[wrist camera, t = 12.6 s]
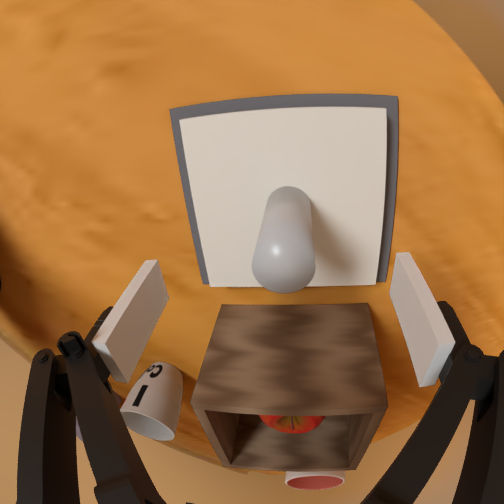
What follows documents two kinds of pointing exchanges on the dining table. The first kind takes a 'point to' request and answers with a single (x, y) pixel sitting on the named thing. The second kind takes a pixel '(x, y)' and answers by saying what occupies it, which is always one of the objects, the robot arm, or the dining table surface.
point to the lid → (288, 195)
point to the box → (291, 386)
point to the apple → (292, 423)
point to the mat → (290, 102)
